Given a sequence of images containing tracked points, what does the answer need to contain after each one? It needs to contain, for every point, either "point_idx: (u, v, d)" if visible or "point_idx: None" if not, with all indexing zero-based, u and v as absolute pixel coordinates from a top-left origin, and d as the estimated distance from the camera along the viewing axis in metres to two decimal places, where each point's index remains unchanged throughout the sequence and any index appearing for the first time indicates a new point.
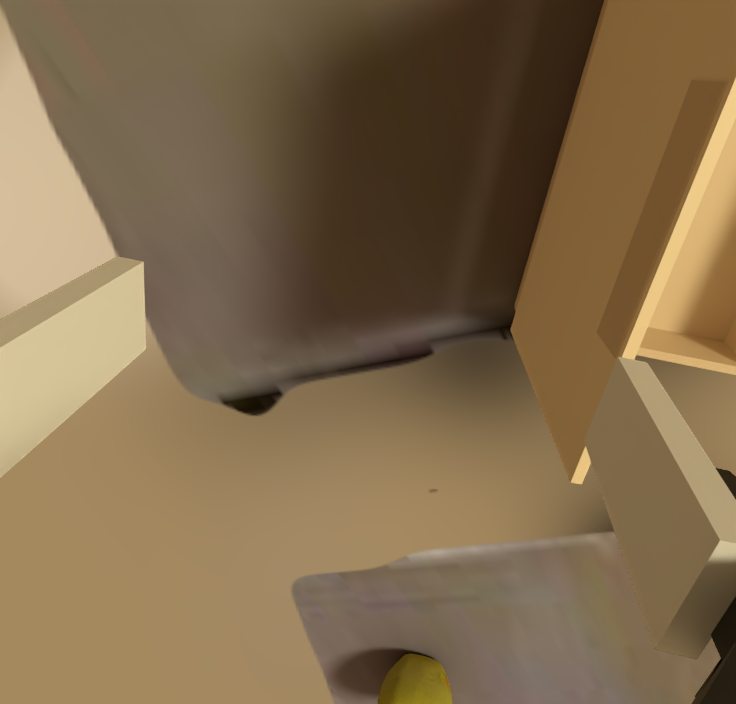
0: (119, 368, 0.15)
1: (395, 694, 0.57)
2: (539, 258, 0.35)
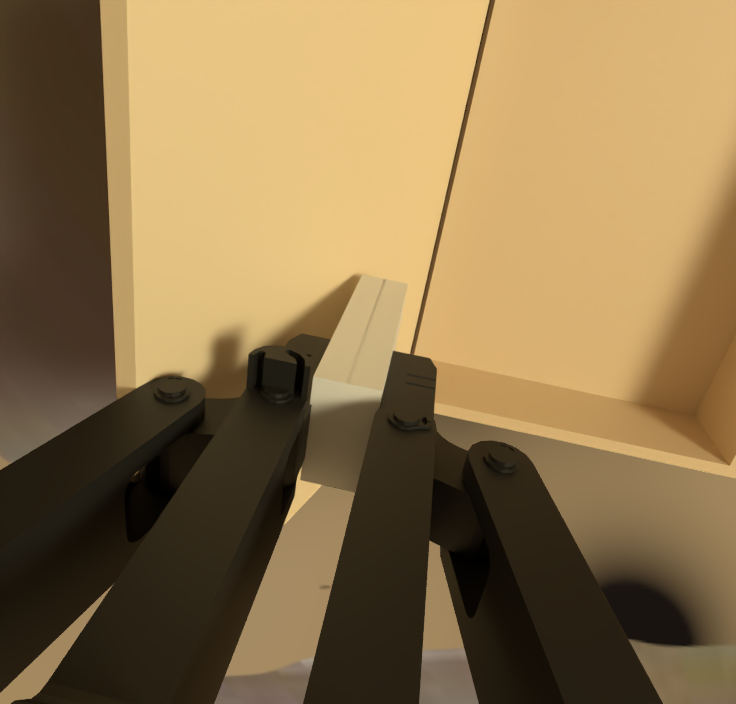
0: None
1: None
2: None
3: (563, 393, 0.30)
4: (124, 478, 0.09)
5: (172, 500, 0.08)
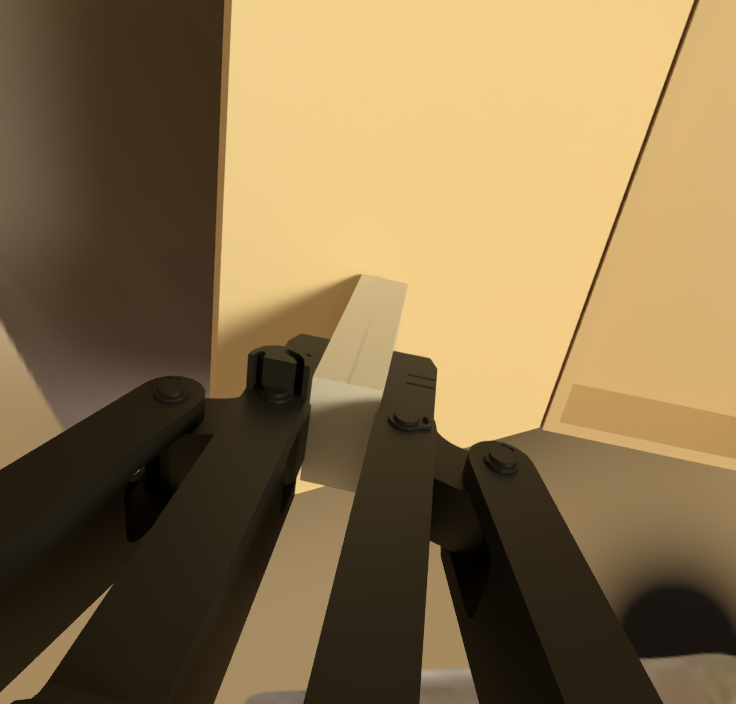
0: None
1: None
2: None
3: (692, 413, 0.30)
4: (124, 478, 0.09)
5: (172, 500, 0.08)
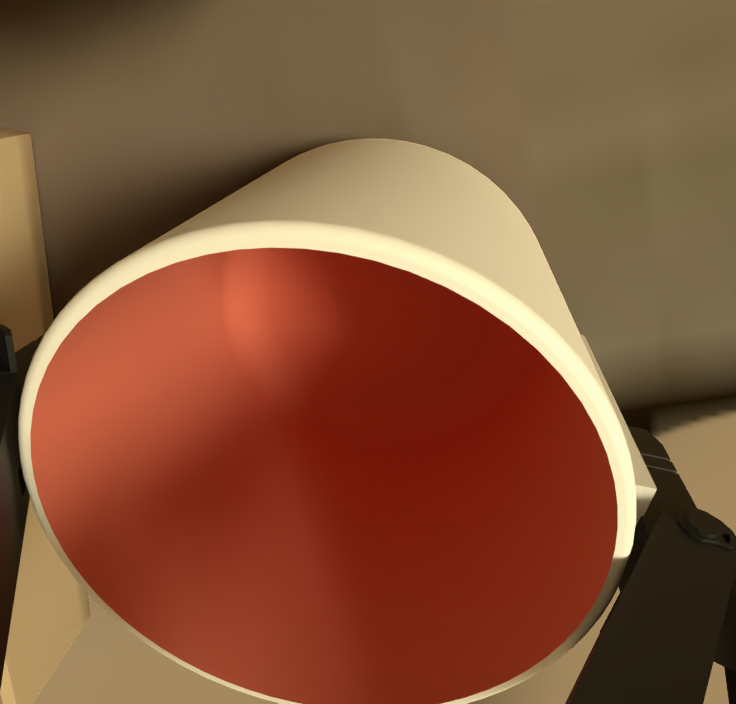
0: None
1: None
2: None
3: None
4: None
5: None
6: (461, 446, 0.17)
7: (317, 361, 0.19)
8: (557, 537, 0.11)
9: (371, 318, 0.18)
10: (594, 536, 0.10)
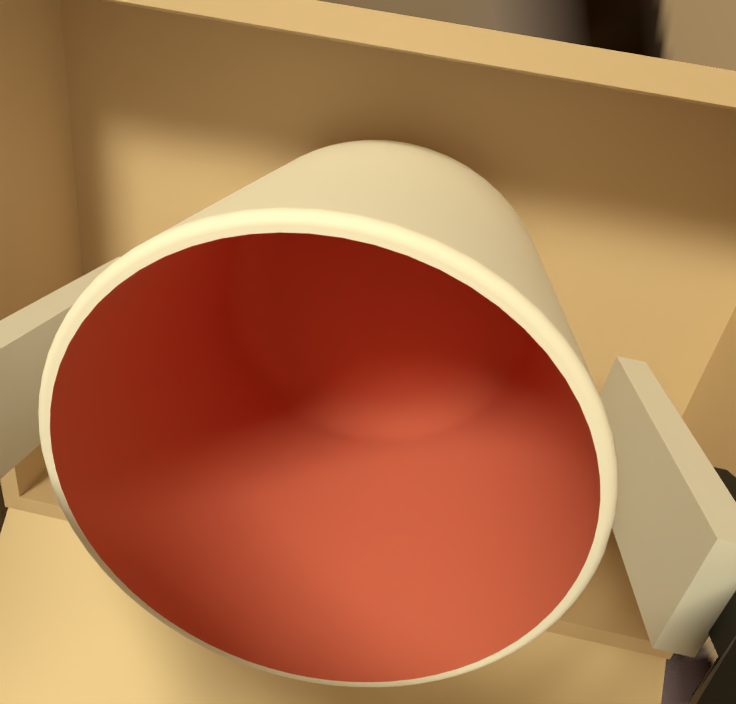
0: None
1: None
2: None
3: (715, 374, 0.17)
4: None
5: None
6: (457, 438, 0.18)
7: (319, 356, 0.20)
8: (547, 517, 0.12)
9: (371, 314, 0.19)
10: (580, 512, 0.10)
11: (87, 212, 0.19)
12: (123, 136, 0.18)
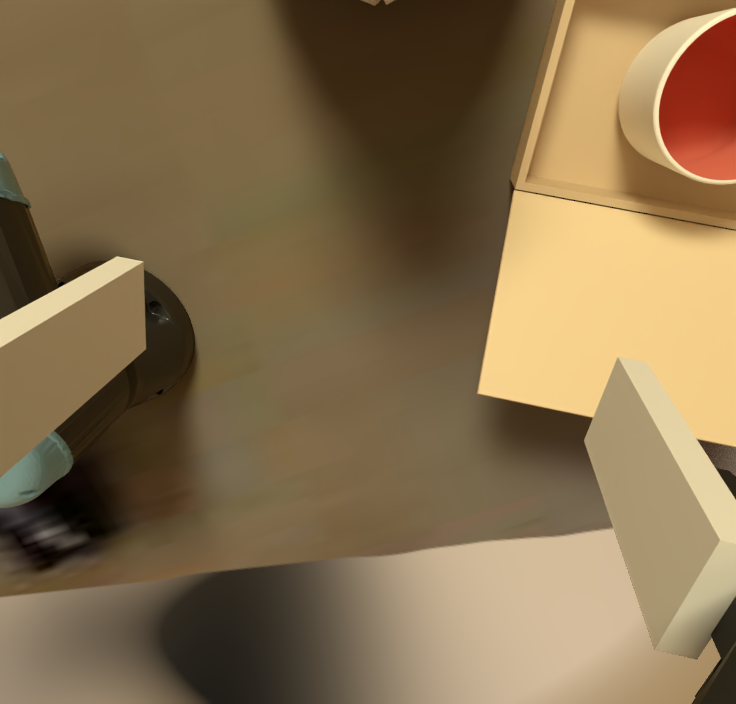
0: (119, 368, 0.15)
1: None
2: None
3: None
4: None
5: None
6: (721, 150, 0.42)
7: None
8: None
9: (680, 101, 0.43)
10: None
11: None
12: (584, 21, 0.42)
